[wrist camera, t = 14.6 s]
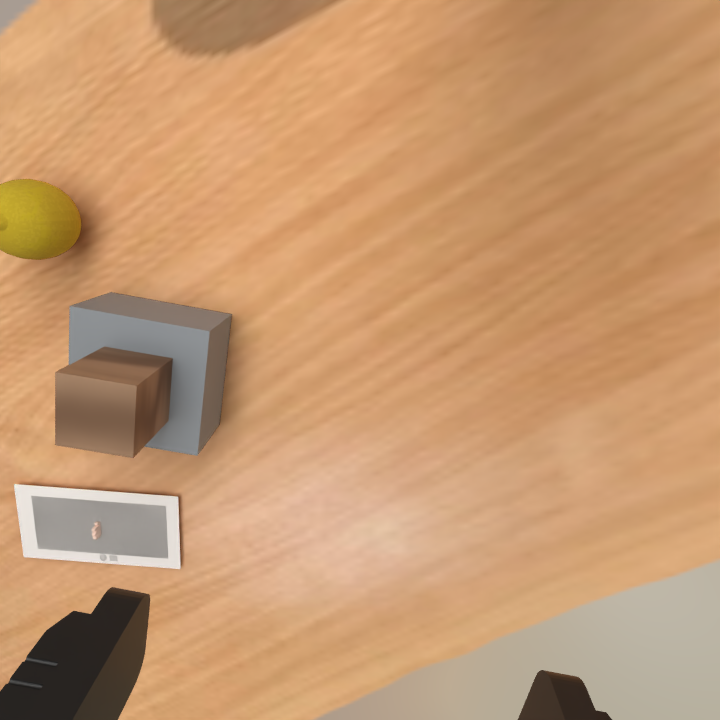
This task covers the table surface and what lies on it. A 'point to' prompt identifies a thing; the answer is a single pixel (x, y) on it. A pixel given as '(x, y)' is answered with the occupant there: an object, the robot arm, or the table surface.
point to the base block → (168, 339)
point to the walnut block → (112, 401)
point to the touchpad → (99, 526)
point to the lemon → (36, 220)
